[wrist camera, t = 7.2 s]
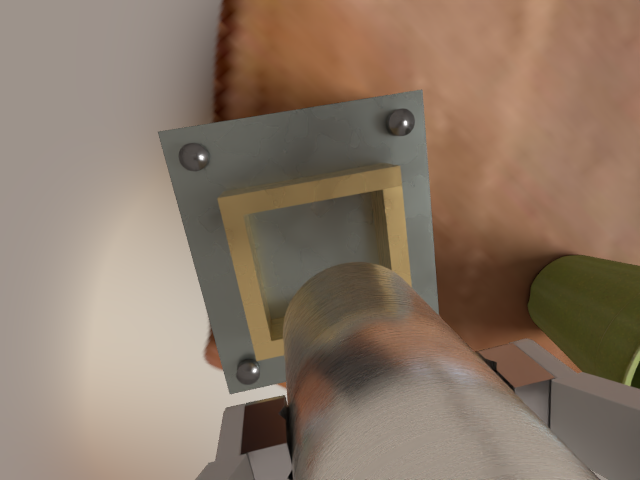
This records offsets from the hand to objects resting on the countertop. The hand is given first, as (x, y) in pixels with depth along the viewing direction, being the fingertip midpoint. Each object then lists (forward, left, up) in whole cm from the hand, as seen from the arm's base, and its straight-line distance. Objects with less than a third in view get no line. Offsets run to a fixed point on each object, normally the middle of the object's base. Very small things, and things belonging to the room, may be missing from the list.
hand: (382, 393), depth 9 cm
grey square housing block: (0, 0, -18) cm, 18 cm away
